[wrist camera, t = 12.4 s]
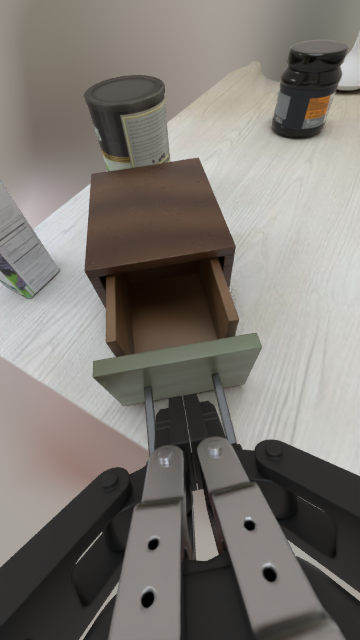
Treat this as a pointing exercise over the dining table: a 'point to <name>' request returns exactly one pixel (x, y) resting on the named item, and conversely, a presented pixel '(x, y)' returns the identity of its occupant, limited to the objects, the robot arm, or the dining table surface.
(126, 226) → the cabinet
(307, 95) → the supplement container
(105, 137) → the coffee can
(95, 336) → the dining table surface
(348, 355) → the dining table surface
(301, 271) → the dining table surface
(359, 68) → the flower in vase
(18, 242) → the syrup box
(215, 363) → the drawer
